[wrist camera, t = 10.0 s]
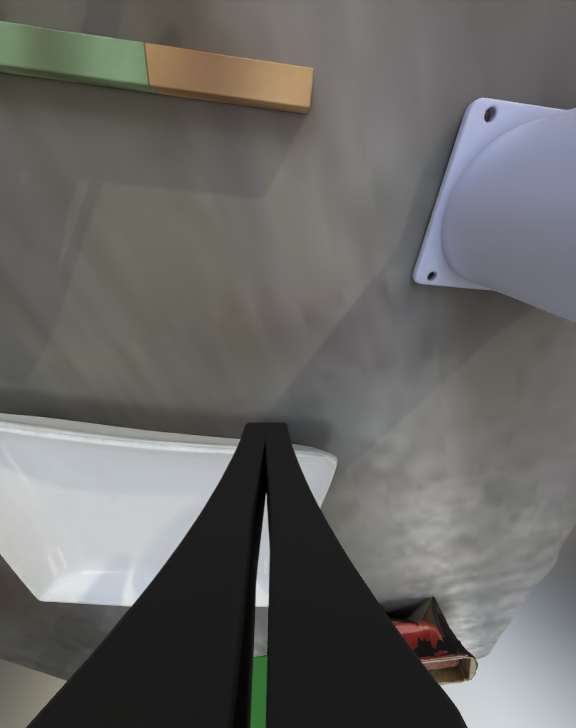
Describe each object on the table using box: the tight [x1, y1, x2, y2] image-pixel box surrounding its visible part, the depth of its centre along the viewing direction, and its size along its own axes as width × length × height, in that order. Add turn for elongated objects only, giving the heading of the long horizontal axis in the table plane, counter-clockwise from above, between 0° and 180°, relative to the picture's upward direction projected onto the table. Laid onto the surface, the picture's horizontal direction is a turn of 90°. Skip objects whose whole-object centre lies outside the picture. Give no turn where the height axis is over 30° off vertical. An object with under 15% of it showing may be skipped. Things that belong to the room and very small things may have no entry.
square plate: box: [0, 413, 338, 607], centre depth 25 cm, size 27×27×4 cm
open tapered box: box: [390, 597, 478, 685], centre depth 42 cm, size 14×18×10 cm
